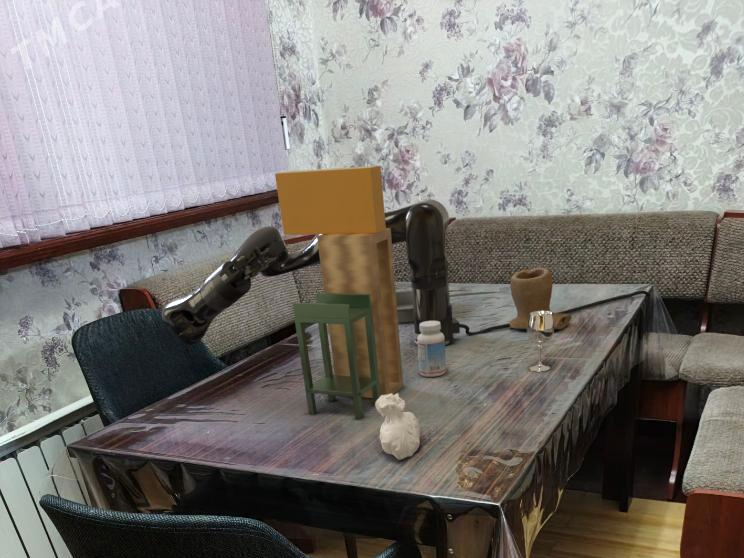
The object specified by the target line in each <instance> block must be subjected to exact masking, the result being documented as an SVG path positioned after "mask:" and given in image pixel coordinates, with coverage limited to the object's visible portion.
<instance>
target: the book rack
mask: <svg viewBox="0 0 744 558" xmlns="http://www.w3.org/2000/svg"><path fill="white" fill-rule="evenodd" d="M292 308H293V314H294V315H293V316H294V317H293V318H294V324H295V331H296V337H297V338H296V339H297V344H298V351H299V357H300V363H301V369H302V377H303V383H304V384H303V385H304V390H305V397H306V403H307V409H308V414H309V415H316V414H317V413H318V411H317V410H318V409H317V404H316V396H315V394H320V395H327V400H328V402H335V401H336V400H337V396H341V397H352V403H353V411H354V419H355V420H362V419H363V418H364V411H363V401H362V397H361V395H362V394H363V393H364V392H366V391H367V390H369V389H370V388H372V394H373V398H372V404H373V406H375V403H376V401H377V400H378V399H379V397H380V396H381V395H380V385H379V375H378V365H377V354H376V344H375V334H374V324H373V313H372V307H371V297H370V294H348V293H324V292H315V302H293V303H292ZM363 317H365V326H366V336H367V345H368V355H369V365H370V374H371V378H366V377H359V375H358V366H357V357H356V348H355V339H354V330H353V323H354V322H355V321H357V320H359V319H361V318H363ZM306 323H307V324H317V325H318V326H317V327H318V333H319V339H320V347H321V348H320V349H321V355H322V363H323V369H324V376H323V377H321V378H320V379H318V380H317V381H315V382H313V377H312V370H311V363H310V357H309V356H310V355H309V348H308V344H307V336H306V329H305V324H306ZM328 324H344V327H345V335H346V344H347V352H348V361H349V369H350V376H340V375H335V374H334V372H333V362H332V355H331V349H330V348H331V347H330V339H329V335H328V327H327V325H328Z"/></svg>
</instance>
